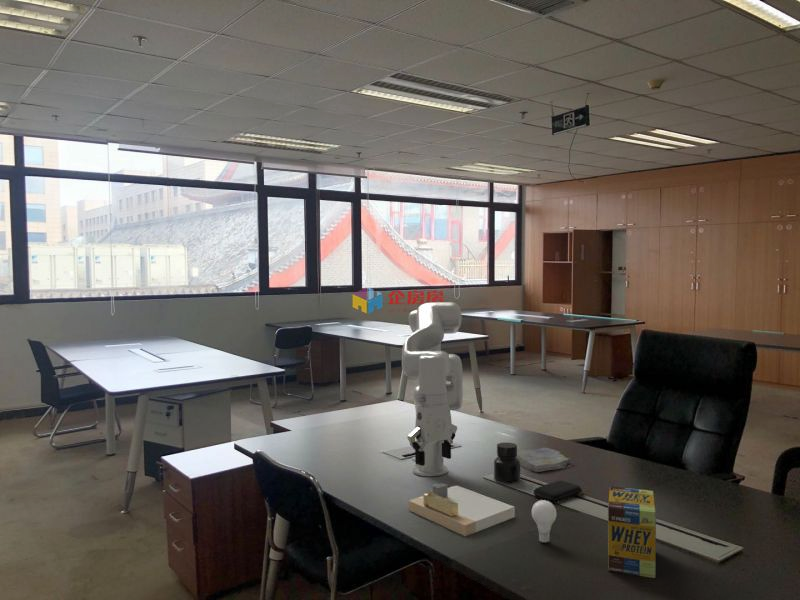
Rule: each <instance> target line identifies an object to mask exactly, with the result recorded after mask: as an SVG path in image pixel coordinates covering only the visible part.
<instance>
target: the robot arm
mask: <svg viewBox="0 0 800 600" xmlns="http://www.w3.org/2000/svg"><path fill="white" fill-rule="evenodd" d="M462 317H463V315H462V310H461V307H460V306H459V304H458V303H457V302H456V303H455V302H454V301H453V302H452V301H446V302H445V301H442V302H441V301H439V302H437V301H436V302H434V301H432V302H431V301H430V302H425V303H422V304H421V305H419V306H418V308H417V309H415V310H412V311H410V313H409V314H408V323H409V324H408V325H409V327H410V330H411V332H412V333H411V334H410V335H409V336H408V337H407V338H406V340H405V341H404V343H403V345H402V349H401V368H402V369H401V370H402V372H403V374H404V375H405V376H406V377H408V378H418V385H417V386H416V387H414V391H413V402H414V408H415V429H414V430H413V431H411V432H410V433H409V434H408V435H407V439H408V442H409V445H410V446H411V447H412V449H413V450H414V454H415V455H414V457H412V458H411V461H412V462H414V463H415V465H414V466H413V467H412V472H413V473H414V474H415V475H417V476H421V477H428V478H429V477H430V478H432V477H439V476H443V475H446V474H447V473H448V472H449V468H448V466H447V465H445V464H444V458H445V459H447V460H450V459H452V445H453V442H454V441H453V440H455V437H456V433H457V430H458V426H457V425H455V424H453V423H452V414H451V411H458V410H460V409H461V407H462V406H463V401H464V400H463V399H464V397H463V396H464V395H463V392H464V391H463V387H464V386H463V363H462V360H461V357H460V356H459V355H457V354H454V353H448V352H447V351H445V350H442V349H441V348H442V347H441V343H442V342H443V340H444V338H445V336H444V335H445V334H447V335H449V334H450V335H451V334H456V333H458V332H459V329H460V328H461V325H462V321H463V320H462V319H463V318H462ZM447 382H449V383H447Z"/></svg>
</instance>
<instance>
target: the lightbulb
mask: <svg viewBox="0 0 800 600" xmlns="http://www.w3.org/2000/svg"><path fill="white" fill-rule="evenodd" d="M557 514H558V513H557V508H556V506H555V505H554V503H552V502H549V501H546V500H543V499H540V500H537V501H536V502H535V503H534V504H533V505H532V508H531V517H532V519H533V521H534V522H535V524H536V527H537V531H538V541H539V542H541V543H543V544H546V543H548V542H550V532H551V529H552V526H553V524H554V522H555V520H556V518H557Z"/></svg>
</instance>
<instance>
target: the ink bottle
mask: <svg viewBox="0 0 800 600" xmlns="http://www.w3.org/2000/svg"><path fill="white" fill-rule="evenodd" d="M517 450H518V444H516V443H514V442H499V443H497V444H496V456H497V457H496V458H494V461H493V476H494V479H493V480H495V481H496V482H498V481H499V482H498V483H502V482H503V483H502V484H515V483H518V482H520V481H521V466H520V461H519V459H517Z"/></svg>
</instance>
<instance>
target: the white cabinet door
mask: <svg viewBox="0 0 800 600" xmlns="http://www.w3.org/2000/svg"><path fill="white" fill-rule="evenodd" d="M431 492H432V493H434V494H436V495H438V496H441V497H443V498H445V499H448V500H450V501H453V502H455V503H458V514H457V515H454V516H450V515H448V514H445V513H443V512H441V511H438V510H436V509H434V508H431V507H429V506H425V505H424V504H423V495H421V496H418V497H414V498H412V499H408V500H407V501H408V511H410V512H412V513H413V512H414V514H416V515H418V516H420V517H422V518H425V519H427V520H429V521H431V522H434V523H436V524H438V525H439V526H442V527H444V528H446V529H448V530H451V531H453V532H455V533H457V534H460V535H461V536H464V537H467V536H470V535H473V534H475V533H477V532H480V531H482V530H485V529H488V528H490V527H492V526H493V527H494V526H495V525H498V524H500V523H503V522H505V521H506V522H507V521H508V520H510V519H513V518H515V517H516V516H515V515H516V514H515V506H514V505H512V504H507V503H506V502H505V503H504V502H503V501H499V500H497V499H494V498H493V497H489V496H486V495H483V494H481V493H479V492H475V491H473V490H471V489H467V488H465V487H462V486H459V485H458V484H457V485H453V486H450V487H448V484H445V483H443V482H442V483H439V484H435V485H432V491H431Z"/></svg>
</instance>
